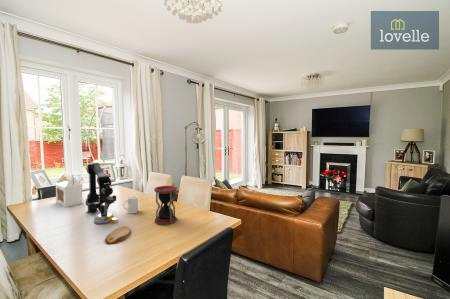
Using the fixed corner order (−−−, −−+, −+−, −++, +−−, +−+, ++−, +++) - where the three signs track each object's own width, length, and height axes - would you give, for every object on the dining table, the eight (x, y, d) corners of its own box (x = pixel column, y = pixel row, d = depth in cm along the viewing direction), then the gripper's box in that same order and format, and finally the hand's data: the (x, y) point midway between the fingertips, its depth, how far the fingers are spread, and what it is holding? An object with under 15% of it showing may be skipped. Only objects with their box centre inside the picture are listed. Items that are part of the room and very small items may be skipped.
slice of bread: (126, 227, 150) (126, 222, 150) (138, 236, 138) (138, 230, 138) (97, 236, 137) (97, 230, 137) (108, 246, 125) (108, 240, 125)
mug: (124, 215, 172) (124, 200, 171) (121, 212, 178) (121, 197, 178) (139, 212, 180) (139, 197, 179) (136, 209, 186) (136, 195, 185)
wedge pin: (99, 217, 159) (99, 204, 158) (104, 215, 163) (103, 203, 162) (104, 217, 158) (103, 205, 157) (108, 215, 162) (108, 203, 161)
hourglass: (169, 215, 174) (169, 184, 172) (180, 221, 162) (181, 188, 160) (150, 220, 162) (150, 187, 161) (161, 227, 151) (161, 192, 149)
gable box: (82, 203, 199) (81, 173, 197) (65, 207, 188) (64, 175, 186) (72, 198, 212) (71, 170, 210) (56, 202, 201) (55, 172, 199)
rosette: (89, 222, 156) (89, 216, 156) (104, 216, 168) (104, 210, 168) (109, 226, 151) (109, 219, 151) (122, 219, 164) (122, 213, 163)
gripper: (102, 197, 148) (102, 219, 149) (122, 190, 166) (122, 210, 167) (89, 195, 151) (89, 217, 152) (110, 189, 169) (110, 208, 170)
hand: (104, 213), depth 160 cm, fingers closed on wedge pin, 3 cm apart
